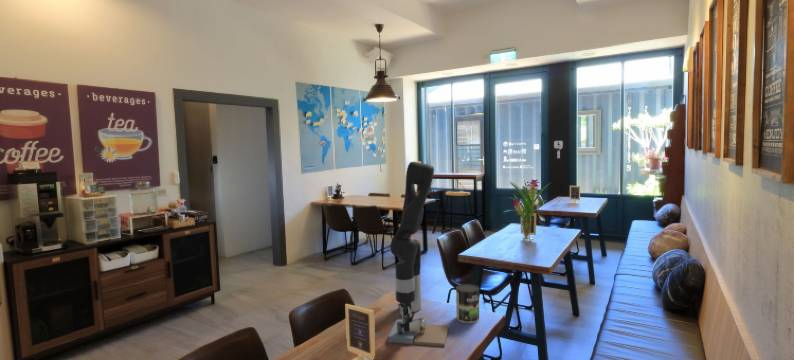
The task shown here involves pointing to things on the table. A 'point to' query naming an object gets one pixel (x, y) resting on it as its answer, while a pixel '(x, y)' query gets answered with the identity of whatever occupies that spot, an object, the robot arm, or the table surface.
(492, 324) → the table surface
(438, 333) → the frame
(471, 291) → the coffee can
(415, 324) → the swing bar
